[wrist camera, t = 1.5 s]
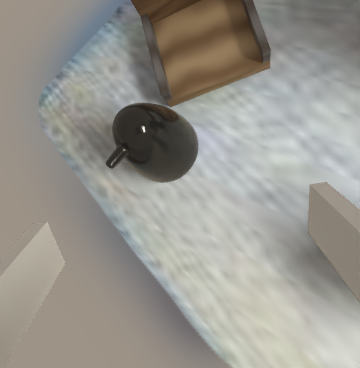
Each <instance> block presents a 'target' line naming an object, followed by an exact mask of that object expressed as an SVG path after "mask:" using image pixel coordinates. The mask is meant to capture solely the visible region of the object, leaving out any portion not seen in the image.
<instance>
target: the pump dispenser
mask: <svg viewBox="0 0 360 368" xmlns="http://www.w3.org/2000/svg"><path fill="white" fill-rule="evenodd" d="M112 133H113V139H114V142H115V144H116V147H117V148H116V150H115V151H114V152H113V154H112V155H111V156H110V158H109V159H108V160H107V162H106V165H107V166H108V167H109V168H111V169H113V168H114V167H115V166H116V165H117V164H119V163H120V162H121V161H122V160H123V159H124V160H125V161H126V163H127V164H128V165H129V166H130V167H131V168H132V169H133V170H135V171H136V172H137V173H139V174H140V175H141V176H143V177H145V178H147V179H149V180H151V181H155V182H160V183H165V182H171V181H174V180H177V179H179V178H181V177H182V176H183V175H185V174H186V173H187V172H188V171H189V170H190V168H191V167H192V166H193V164H194V162H195V160H196V157H197V153H198V139H197V135H196V132H195V130H194V129H193V127H192V126H191V124H190V123H189V122H188V121H187V120H186V119H185V118H184V117H182V116H181V115H180V114H178V113H177V112H175V111H173V110H171V109H169V108H167V107H164V106H161V105H158V104H152V103H134V104H130V105H128V106H126V107H124V108H123V109H121V110H120V111H119V112H118V113H117V115H116V116H115V119H114V121H113V126H112Z"/></svg>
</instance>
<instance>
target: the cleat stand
mask: <svg viewBox="0 0 360 368" xmlns="http://www.w3.org/2000/svg"><path fill="white" fill-rule="evenodd" d="M131 1H132V3H133V5H134V6H135V8H136V10H137V11H138V13H139V14H140V16H141V20H142V24H143V27H144V31H145V35H146V39H147V43H148V47H149V51H150V54H151V58H152V62H153V66H154V70H155V74H156V78H157V81H158V85H159V89H160V93H161V95H162V97H163V98H164V99H165V100H166V101H167V103H168V104H169V105H170V106H171V107H172V106H174V105H177V104H179V103H182V102H184V101H187V100H189V99H192V98H195V97H197V96H200V95H202V94H205V93H207V92H210V91H212V90H215V89H217V88H220V87H222V86H225V85H227V84H230V83H232V82H235V81H238V80H240V79H243V78H245V77H248V76H250V75H253V74H255V73H258V72H260V71H263V70H265V69H268V68H270V51H271V49H270V47H269V44H268V41H267V38H266V36H265V33H264V30H263V28H262V25H261V22H260V19H259V17H258V14H257V11H256V8H255V6H254V3H253V0H131Z"/></svg>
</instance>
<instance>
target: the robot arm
mask: <svg viewBox="0 0 360 368" xmlns="http://www.w3.org/2000/svg"><path fill="white" fill-rule="evenodd" d="M308 233H309V235H310V236H311V237H312V239H313V240H314V241H315V243H316V244H317V245H318V247H319V248H320V249H321V251H322V252H323V253H324V255H325V256H326V258H327V259H328V260H329V262H330V263H331V264H332V266H333V267H334V268H335V270H336V271H337V272H338V274H339V275H340V277H341V278H342V279H343V281H344V282H345V283H346V285H347V286H348V287H349V289H350V290H351V291H352V293H353V294H354V296H355V297H356V298H357V300H358V301H359V302H360V210H359V209H358V208H357V207H356V206H354V205H353V204H352V203H351V202H350V201H348V200H347V199H346V198H345V197H344V196H342V195H341V194H340V193H339V192H338V191H336V190H335V189H334V188H333V187H332V186H330V185H329V184H328V183H327V182H324V183H317V184H310V193H309V218H308ZM64 265H65V262H64V260H63V258H62V255H61V253H60V250H59V248H58V246H57V243H56V241H55V239H54V236H53V234H52V232H51V230H50V227H49V225H48V223H47V222H41V223H33V224H32V225H31V226H30V227H29V228H28V229H27V230H26V231H25V233H24V234H23V235H22V236H21V237H20V238H19V239H18V240H17V241H16V242H15V243H14V245H13V246H12V247H11V248H10V249H9V250H8V251H7V252H6V253H5V254H4V255H3V256H2V257H1V259H0V368H5V366H6V364H7V363H8V361H9V359H10V357H11V356H12V354H13V352H14V351H15V349H16V347H17V345H18V344H19V342H20V340H21V339H22V337H23V335H24V334H25V332H26V330H27V328H28V327H29V325H30V323H31V321H32V320H33V318H34V316H35V315H36V313H37V311H38V309H39V308H40V306H41V304H42V303H43V301H44V299H45V297H46V296H47V294H48V292H49V290H50V289H51V287H52V285H53V284H54V282H55V280H56V278H57V277H58V275H59V273H60V271H61V270H62V268H63V266H64Z"/></svg>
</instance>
